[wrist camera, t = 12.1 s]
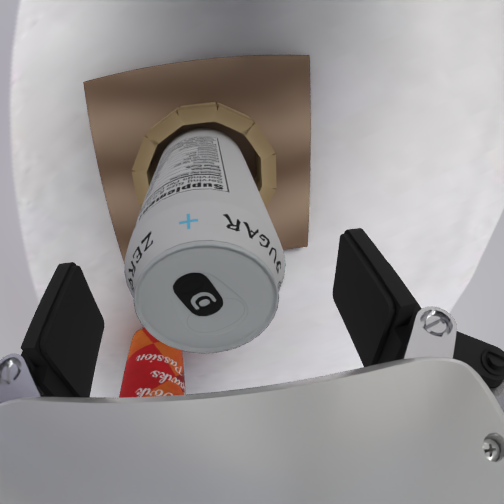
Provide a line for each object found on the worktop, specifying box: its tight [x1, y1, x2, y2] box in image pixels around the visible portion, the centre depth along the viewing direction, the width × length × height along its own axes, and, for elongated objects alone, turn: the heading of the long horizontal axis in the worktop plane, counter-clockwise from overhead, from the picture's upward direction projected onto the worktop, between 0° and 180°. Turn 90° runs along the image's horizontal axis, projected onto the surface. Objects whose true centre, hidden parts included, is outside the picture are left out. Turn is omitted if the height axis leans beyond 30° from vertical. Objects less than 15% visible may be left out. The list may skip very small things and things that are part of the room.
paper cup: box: [119, 328, 186, 398], centre depth 28 cm, size 8×8×14 cm
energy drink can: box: [125, 128, 285, 353], centre depth 17 cm, size 6×6×15 cm
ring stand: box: [84, 55, 311, 264], centre depth 22 cm, size 16×16×4 cm
